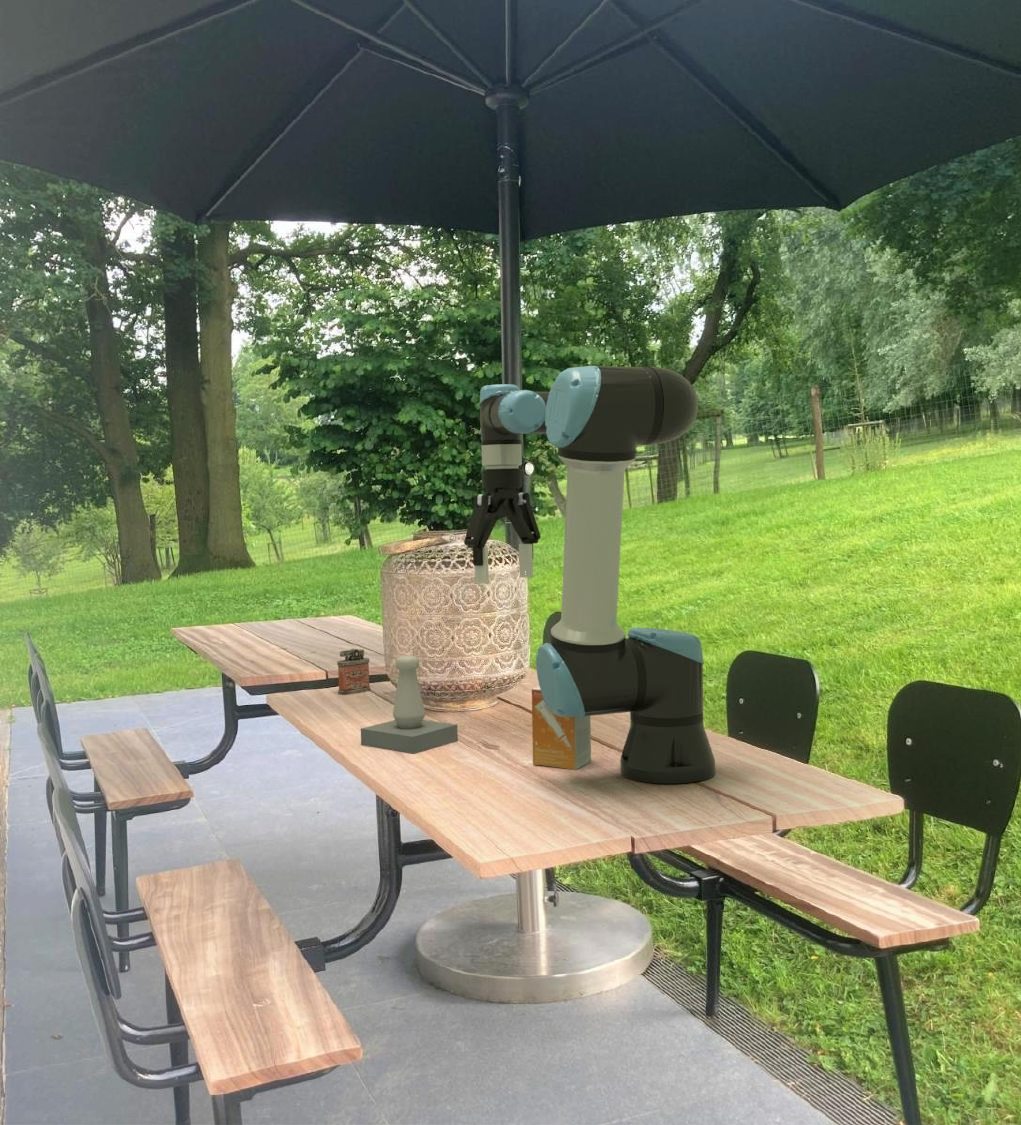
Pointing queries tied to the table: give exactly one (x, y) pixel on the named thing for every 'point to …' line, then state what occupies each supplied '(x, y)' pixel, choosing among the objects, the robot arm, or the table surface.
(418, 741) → the block
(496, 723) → the table surface
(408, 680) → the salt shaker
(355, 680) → the lighter
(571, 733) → the small box
